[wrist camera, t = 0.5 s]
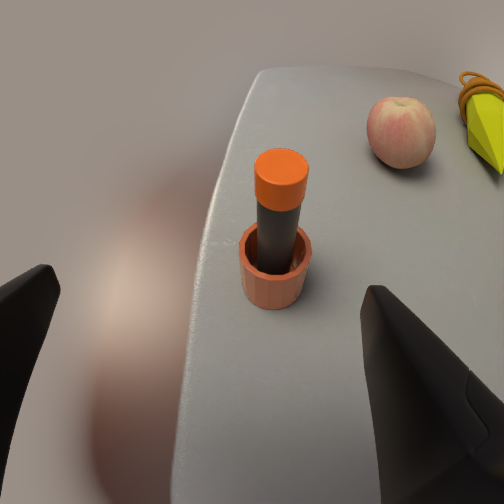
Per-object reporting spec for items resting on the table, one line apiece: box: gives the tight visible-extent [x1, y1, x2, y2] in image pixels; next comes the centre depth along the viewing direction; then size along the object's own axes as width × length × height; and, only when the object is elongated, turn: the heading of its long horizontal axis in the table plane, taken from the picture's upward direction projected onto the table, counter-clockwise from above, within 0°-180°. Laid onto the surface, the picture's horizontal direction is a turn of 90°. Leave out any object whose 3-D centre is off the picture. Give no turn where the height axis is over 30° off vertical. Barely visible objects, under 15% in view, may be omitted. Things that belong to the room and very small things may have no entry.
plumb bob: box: [458, 72, 504, 175], centre depth 33 cm, size 9×9×25 cm
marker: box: [254, 148, 309, 275], centre depth 20 cm, size 3×3×12 cm
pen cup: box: [239, 223, 312, 310], centre depth 23 cm, size 5×5×5 cm
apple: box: [367, 97, 436, 169], centre depth 30 cm, size 8×8×8 cm
